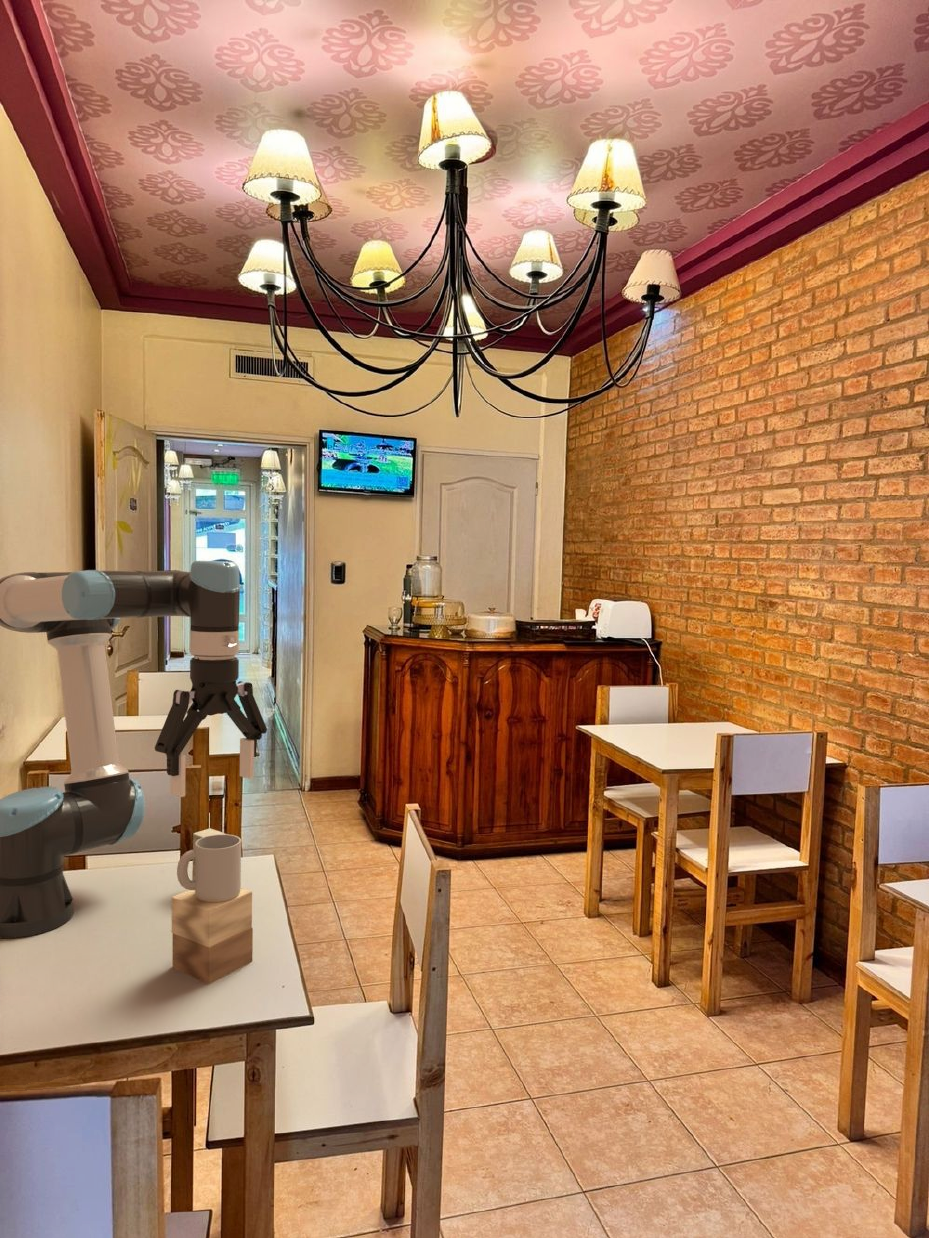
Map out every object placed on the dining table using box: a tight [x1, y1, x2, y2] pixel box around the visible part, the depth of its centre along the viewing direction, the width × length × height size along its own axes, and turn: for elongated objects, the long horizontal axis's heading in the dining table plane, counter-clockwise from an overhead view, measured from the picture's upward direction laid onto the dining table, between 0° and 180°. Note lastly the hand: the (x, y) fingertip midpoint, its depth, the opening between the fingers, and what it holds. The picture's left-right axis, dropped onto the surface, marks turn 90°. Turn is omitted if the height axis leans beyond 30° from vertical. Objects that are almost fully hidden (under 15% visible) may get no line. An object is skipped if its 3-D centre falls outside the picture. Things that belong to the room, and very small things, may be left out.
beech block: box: [171, 887, 253, 947], centre depth 133 cm, size 9×9×6 cm
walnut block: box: [171, 926, 254, 985], centre depth 134 cm, size 9×9×6 cm
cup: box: [176, 833, 242, 903], centre depth 133 cm, size 7×10×9 cm
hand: (213, 785), depth 132 cm, fingers open, 13 cm apart
